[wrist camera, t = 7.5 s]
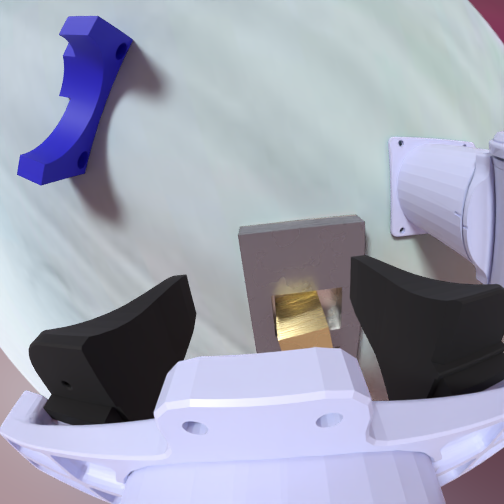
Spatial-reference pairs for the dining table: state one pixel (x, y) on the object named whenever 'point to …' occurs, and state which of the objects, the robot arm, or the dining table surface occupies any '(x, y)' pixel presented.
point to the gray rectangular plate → (302, 273)
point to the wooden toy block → (301, 322)
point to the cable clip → (78, 99)
